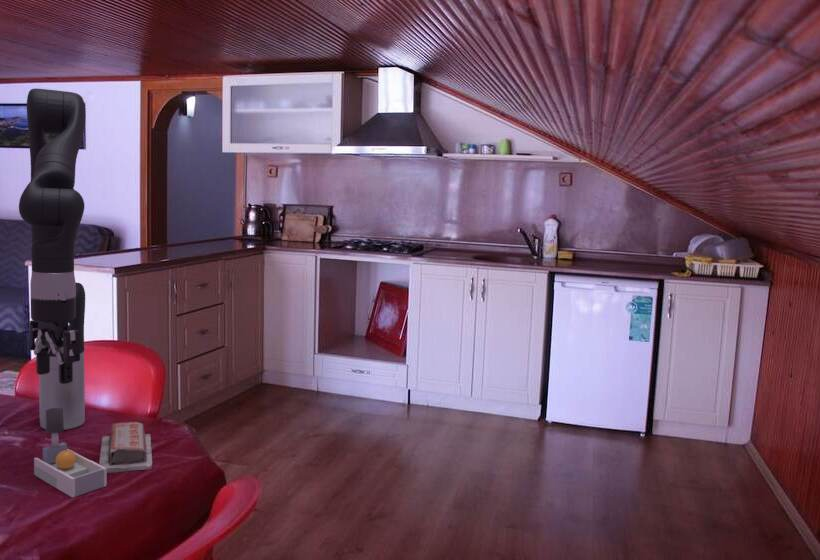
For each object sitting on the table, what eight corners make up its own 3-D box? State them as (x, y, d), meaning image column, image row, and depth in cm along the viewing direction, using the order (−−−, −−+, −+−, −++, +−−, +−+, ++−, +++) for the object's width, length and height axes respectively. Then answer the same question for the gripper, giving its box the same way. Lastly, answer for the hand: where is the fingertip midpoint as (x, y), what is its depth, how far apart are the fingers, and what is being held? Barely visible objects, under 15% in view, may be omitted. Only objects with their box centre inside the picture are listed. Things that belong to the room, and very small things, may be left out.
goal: (56, 488, 122) (56, 470, 122) (90, 477, 128) (90, 460, 127) (72, 497, 119) (72, 479, 119) (106, 485, 125) (106, 468, 124)
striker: (40, 461, 128) (40, 411, 127) (61, 455, 131) (61, 406, 130) (48, 466, 126) (47, 414, 125) (69, 459, 130) (69, 409, 128)
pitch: (34, 475, 127) (34, 458, 127) (67, 464, 133) (67, 448, 132) (56, 488, 122) (56, 470, 122) (90, 477, 128) (90, 460, 127)
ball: (51, 468, 126) (51, 450, 126) (70, 462, 129) (70, 445, 128) (61, 473, 124) (61, 455, 124) (79, 468, 127) (79, 450, 126)
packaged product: (101, 421, 145) (150, 418, 149) (101, 442, 146) (150, 438, 149) (98, 453, 129) (152, 448, 132) (97, 476, 129) (152, 471, 133)
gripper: (14, 291, 126) (15, 374, 128) (52, 301, 117) (53, 390, 119) (54, 288, 132) (55, 367, 134) (93, 298, 124) (93, 382, 126)
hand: (54, 378), depth 127 cm, fingers open, 8 cm apart
